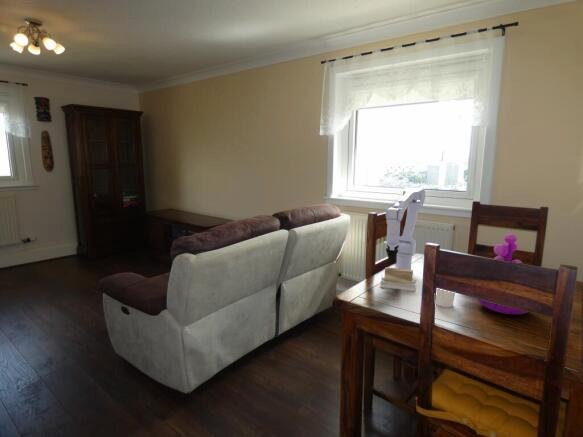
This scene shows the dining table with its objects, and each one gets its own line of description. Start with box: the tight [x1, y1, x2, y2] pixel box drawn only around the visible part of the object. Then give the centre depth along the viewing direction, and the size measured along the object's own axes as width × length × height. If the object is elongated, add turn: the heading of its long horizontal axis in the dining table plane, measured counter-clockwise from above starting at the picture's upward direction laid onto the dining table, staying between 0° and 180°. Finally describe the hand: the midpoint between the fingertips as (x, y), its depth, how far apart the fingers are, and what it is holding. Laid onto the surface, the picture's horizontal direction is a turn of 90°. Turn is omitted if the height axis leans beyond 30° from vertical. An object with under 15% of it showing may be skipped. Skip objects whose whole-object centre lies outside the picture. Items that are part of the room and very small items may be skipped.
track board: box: [379, 276, 417, 292], centre depth 155 cm, size 7×15×2 cm, turn 71°
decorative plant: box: [477, 233, 528, 315], centre depth 128 cm, size 19×18×30 cm
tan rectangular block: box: [384, 267, 414, 284], centre depth 154 cm, size 2×12×7 cm, turn 71°
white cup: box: [435, 289, 456, 308], centre depth 135 cm, size 8×8×10 cm
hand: (391, 261), depth 162 cm, fingers open, 7 cm apart
